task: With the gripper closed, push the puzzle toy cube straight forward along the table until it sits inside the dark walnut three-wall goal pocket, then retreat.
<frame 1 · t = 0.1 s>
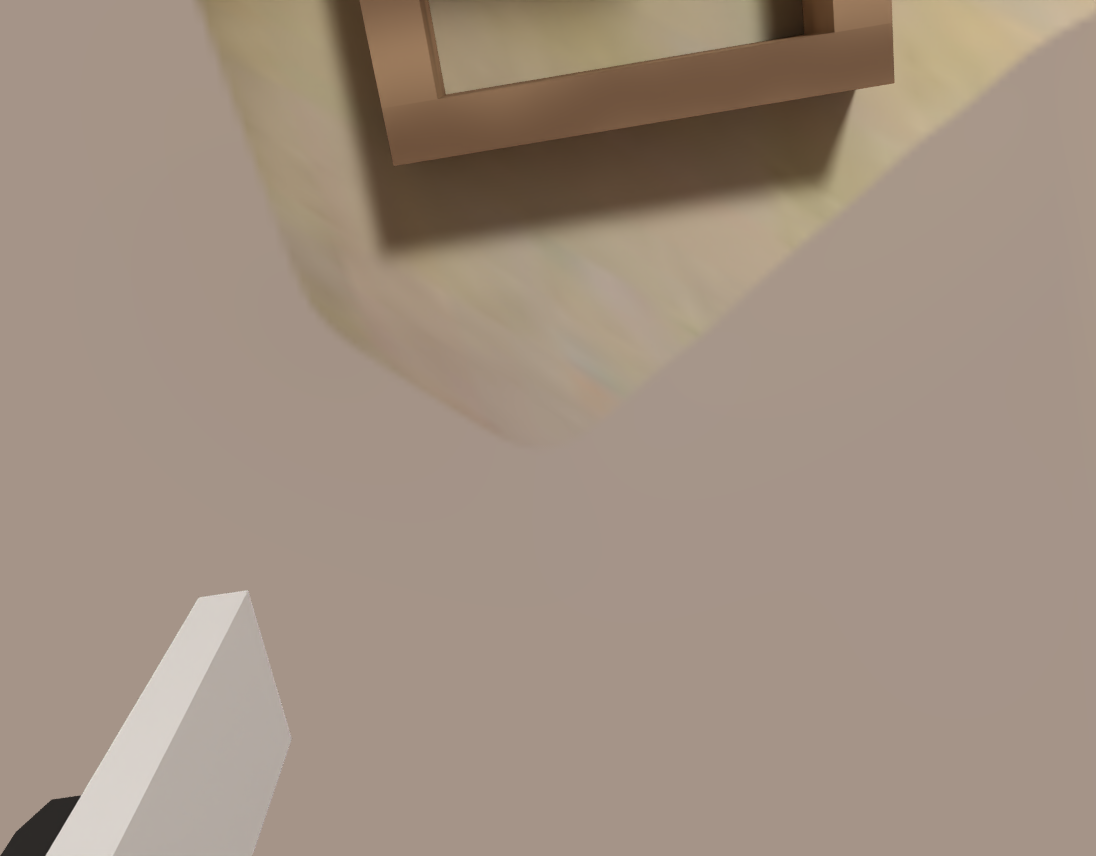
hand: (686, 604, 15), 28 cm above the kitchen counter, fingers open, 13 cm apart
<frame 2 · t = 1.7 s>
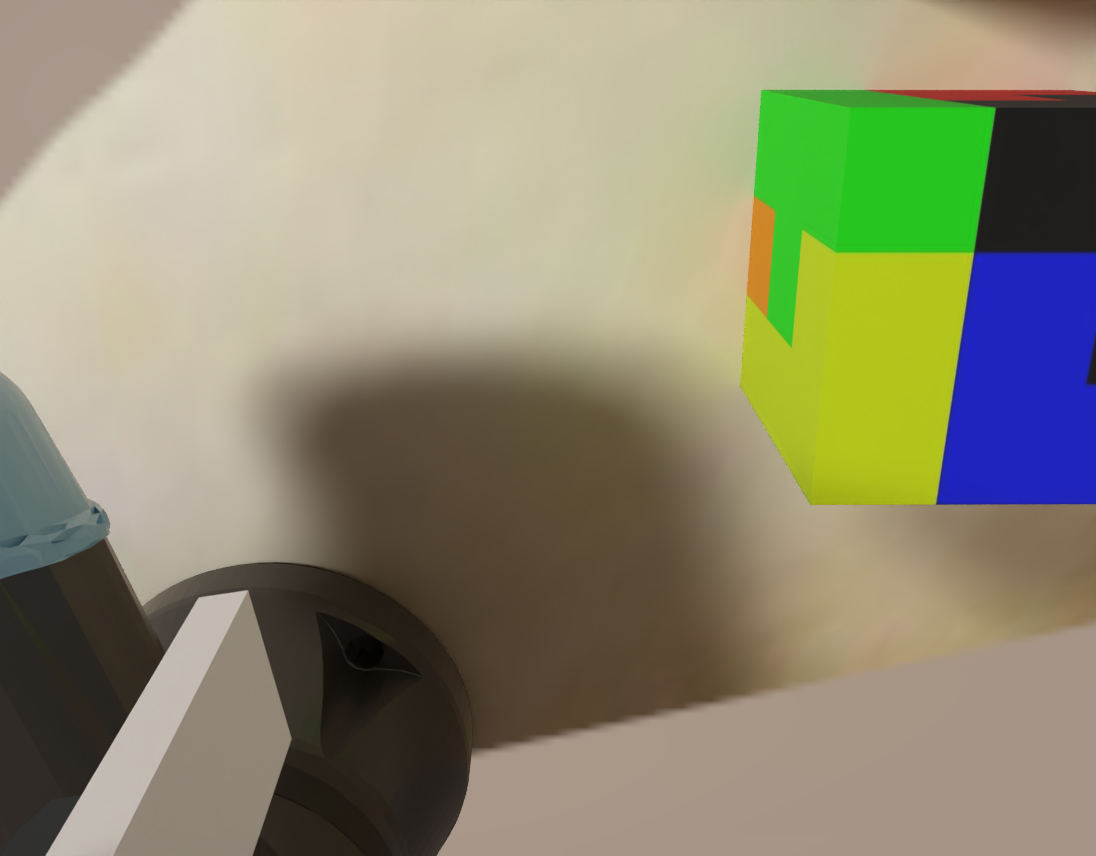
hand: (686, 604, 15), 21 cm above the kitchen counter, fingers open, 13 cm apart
puzzle toy: (895, 244, 34), on the kitchen counter
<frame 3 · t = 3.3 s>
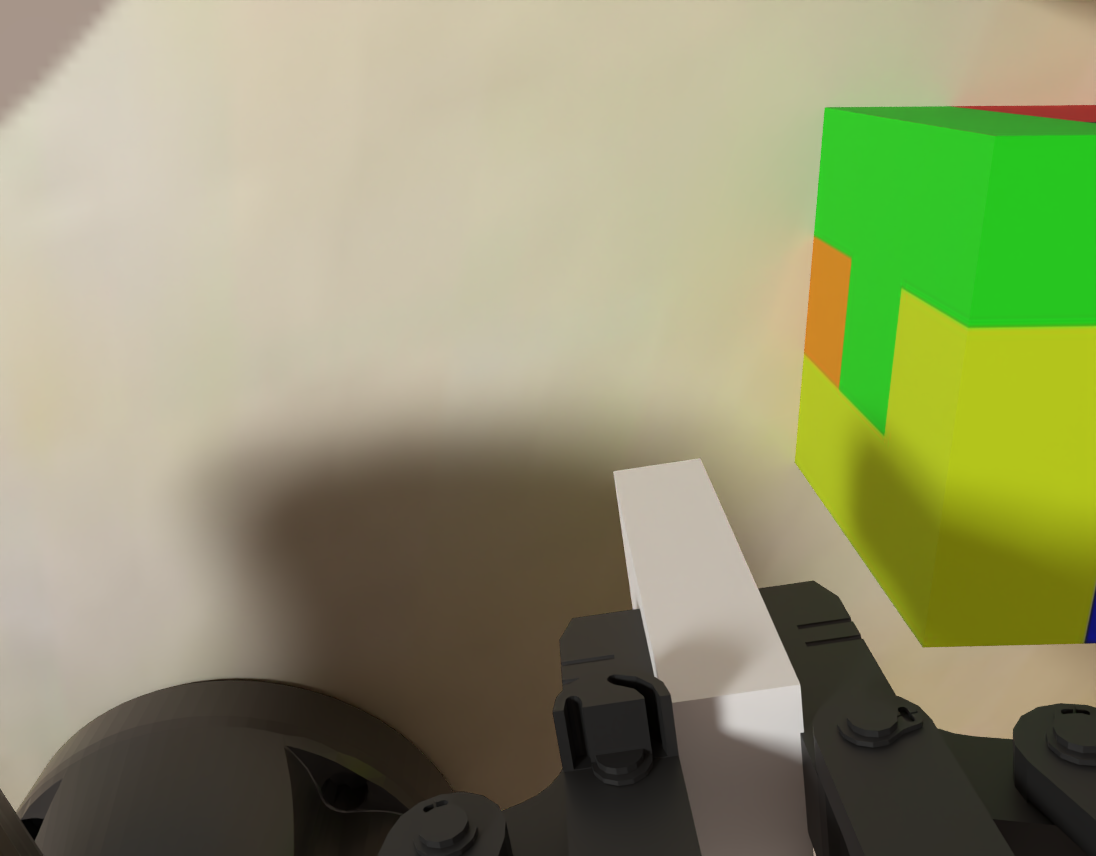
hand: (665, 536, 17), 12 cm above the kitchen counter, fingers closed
puzzle toy: (982, 291, 28), on the kitchen counter
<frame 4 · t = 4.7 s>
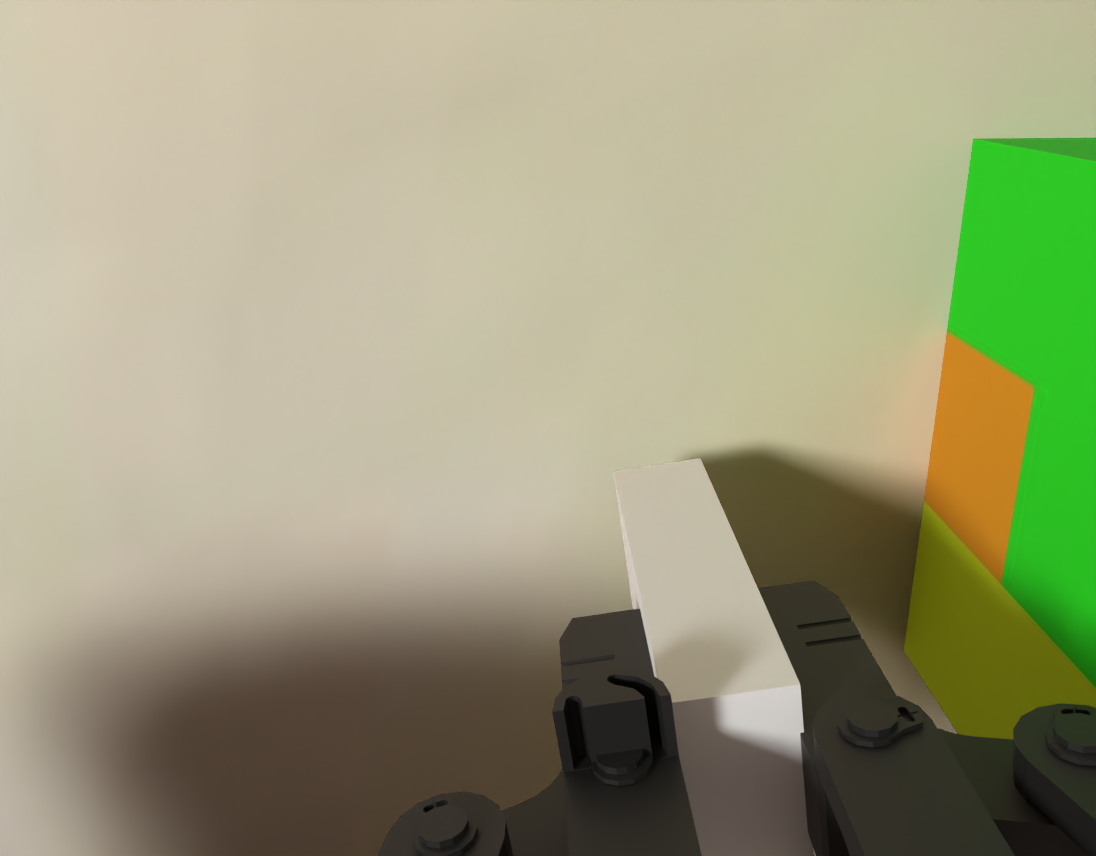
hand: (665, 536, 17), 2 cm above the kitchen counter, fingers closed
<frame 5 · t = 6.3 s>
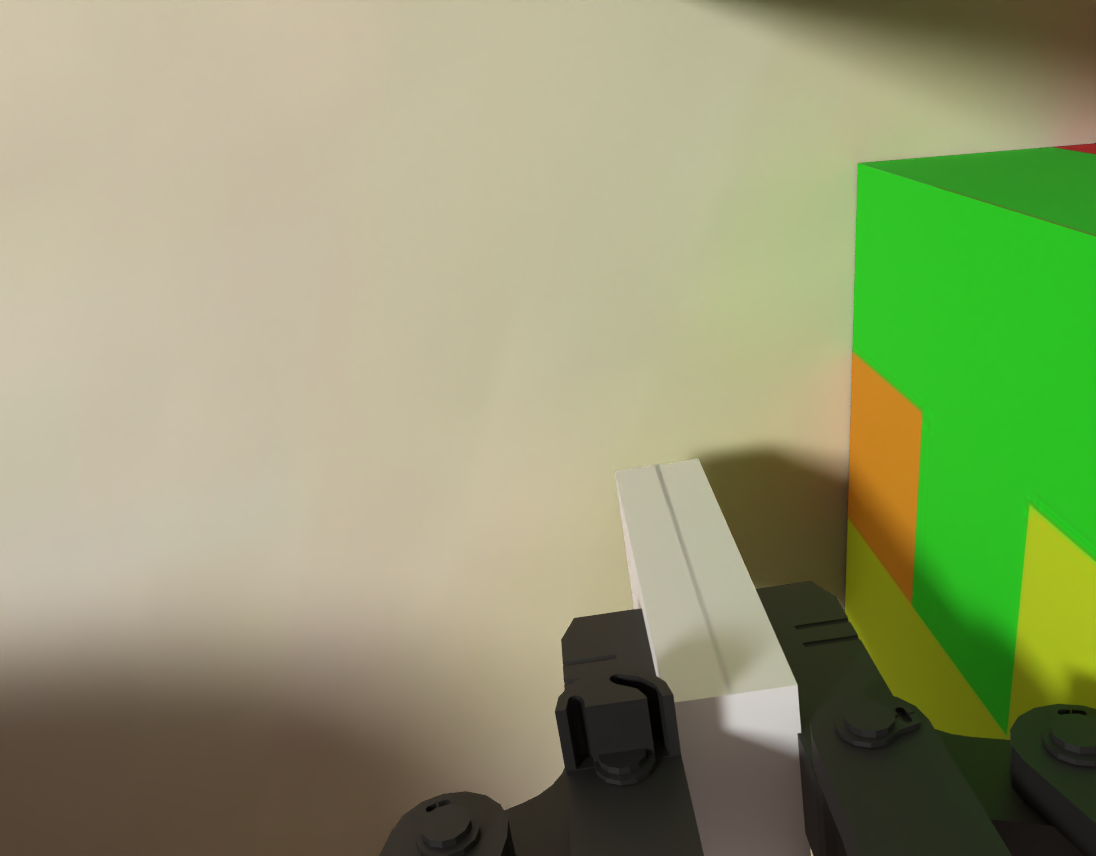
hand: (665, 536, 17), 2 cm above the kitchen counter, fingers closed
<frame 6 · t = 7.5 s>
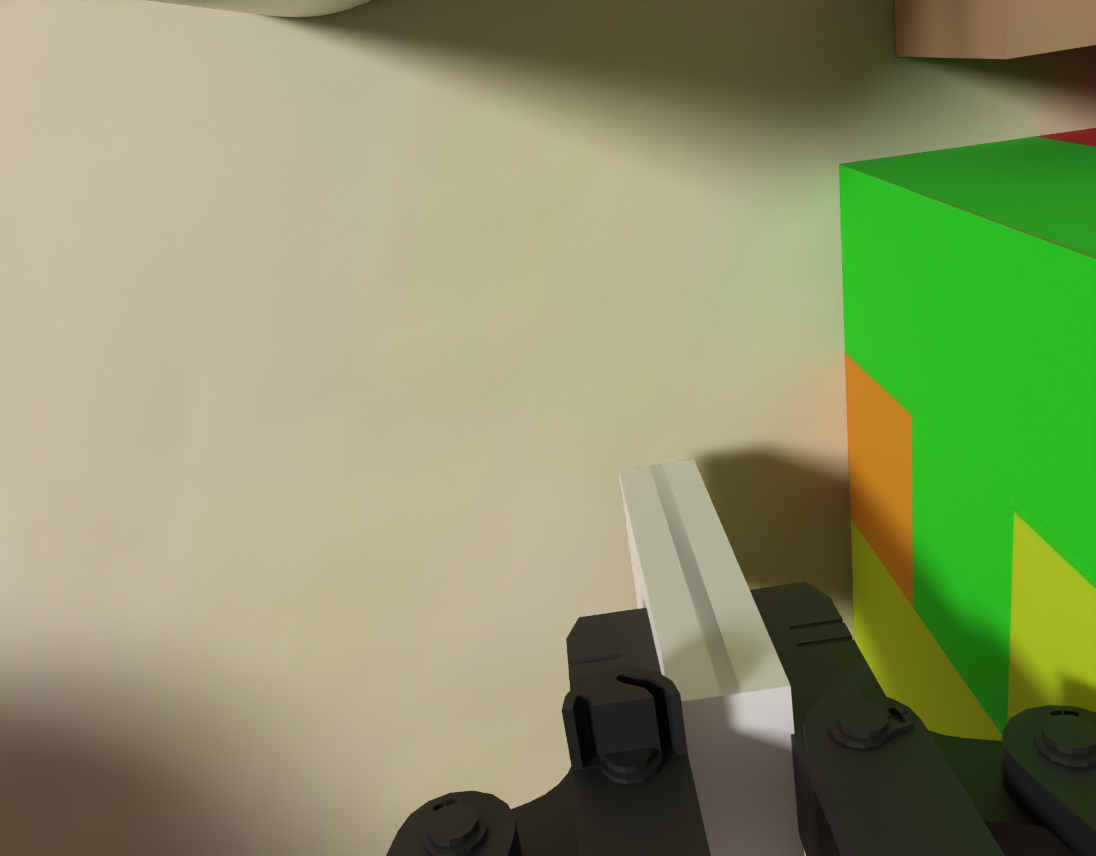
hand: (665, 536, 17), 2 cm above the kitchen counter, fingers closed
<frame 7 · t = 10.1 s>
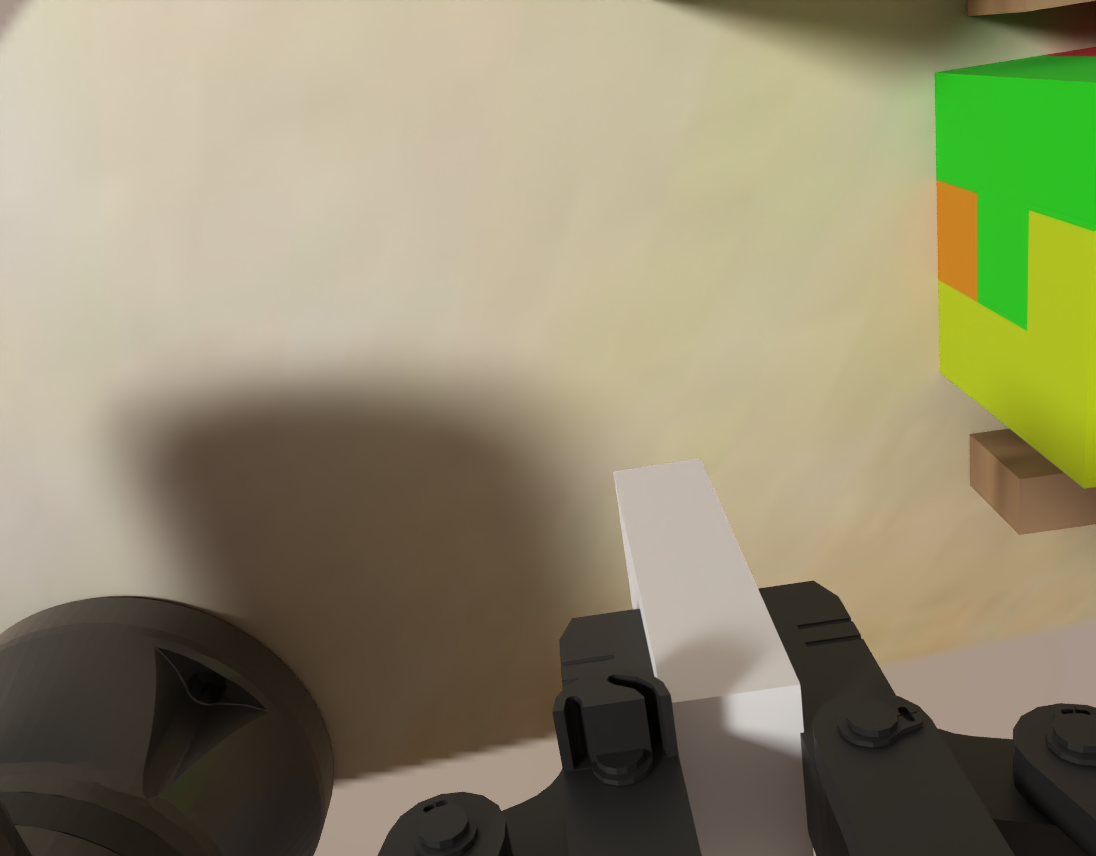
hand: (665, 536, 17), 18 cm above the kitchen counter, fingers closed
puzzle toy: (1085, 205, 34), on the kitchen counter
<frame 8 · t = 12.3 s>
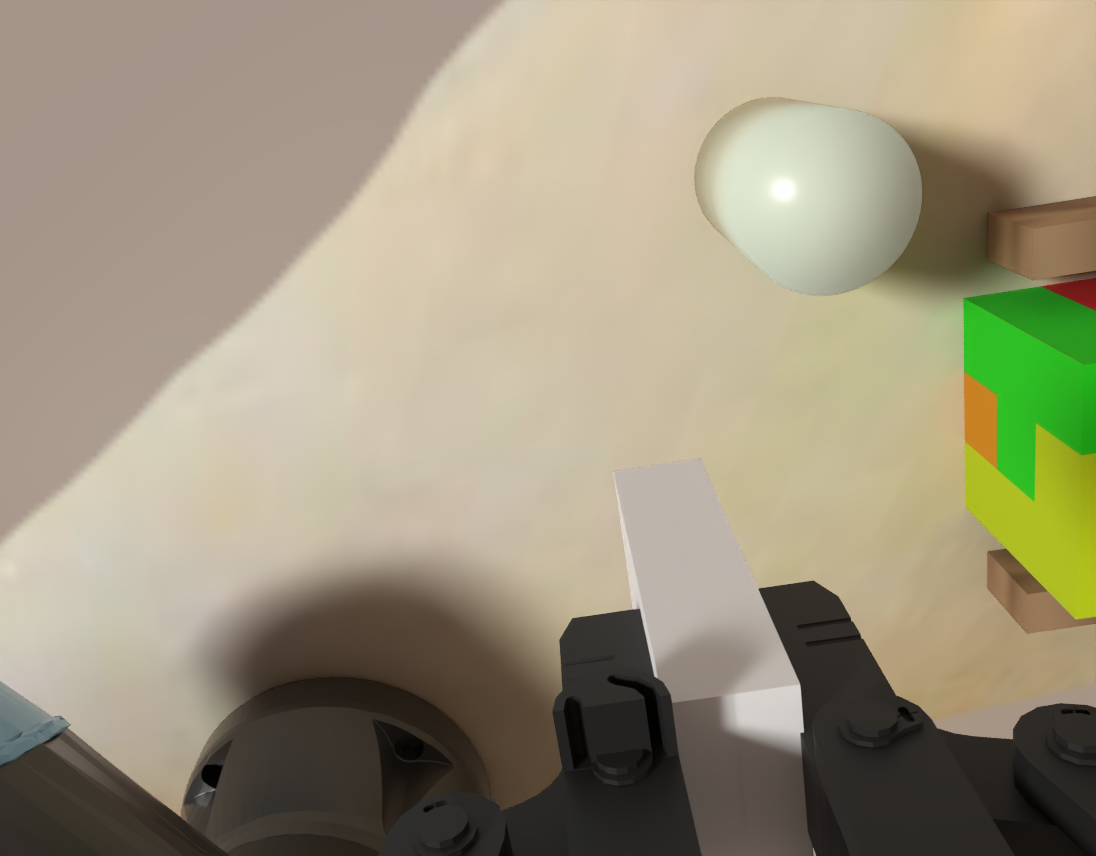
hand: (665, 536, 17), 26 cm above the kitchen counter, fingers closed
cream egg shape: (767, 174, 41), on the kitchen counter
puzzle toy: (1073, 387, 45), on the kitchen counter
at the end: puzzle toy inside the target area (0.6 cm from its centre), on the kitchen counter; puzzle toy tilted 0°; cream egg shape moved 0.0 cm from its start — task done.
